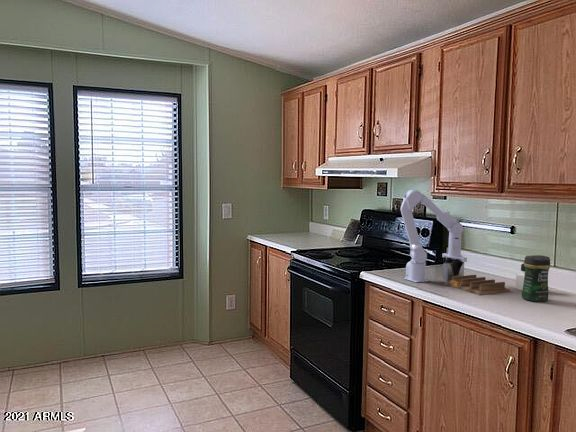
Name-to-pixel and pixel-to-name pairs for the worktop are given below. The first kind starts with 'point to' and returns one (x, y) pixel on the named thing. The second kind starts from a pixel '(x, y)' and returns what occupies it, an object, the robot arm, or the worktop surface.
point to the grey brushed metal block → (451, 272)
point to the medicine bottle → (520, 278)
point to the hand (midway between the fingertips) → (453, 274)
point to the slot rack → (477, 284)
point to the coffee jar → (536, 278)
